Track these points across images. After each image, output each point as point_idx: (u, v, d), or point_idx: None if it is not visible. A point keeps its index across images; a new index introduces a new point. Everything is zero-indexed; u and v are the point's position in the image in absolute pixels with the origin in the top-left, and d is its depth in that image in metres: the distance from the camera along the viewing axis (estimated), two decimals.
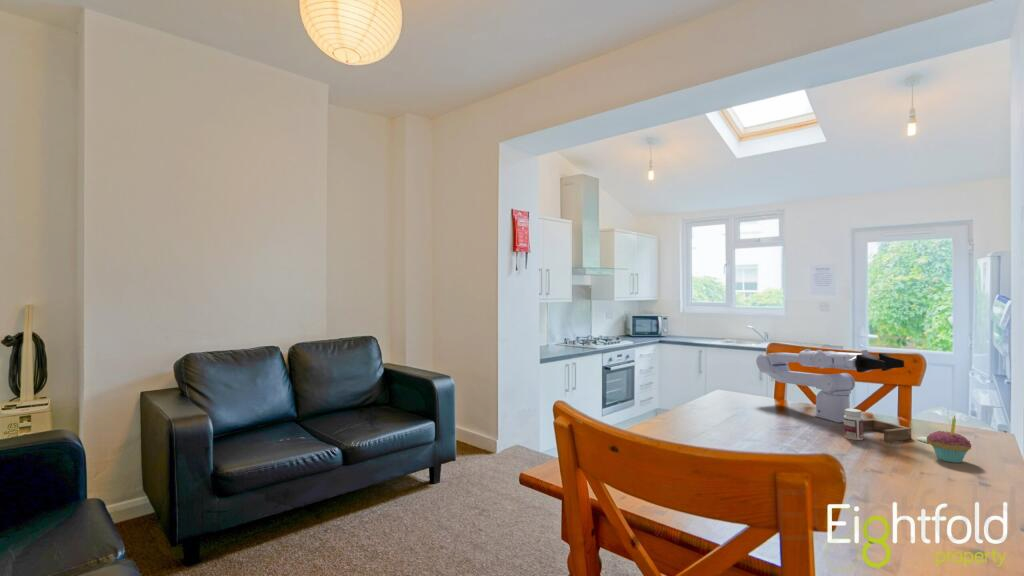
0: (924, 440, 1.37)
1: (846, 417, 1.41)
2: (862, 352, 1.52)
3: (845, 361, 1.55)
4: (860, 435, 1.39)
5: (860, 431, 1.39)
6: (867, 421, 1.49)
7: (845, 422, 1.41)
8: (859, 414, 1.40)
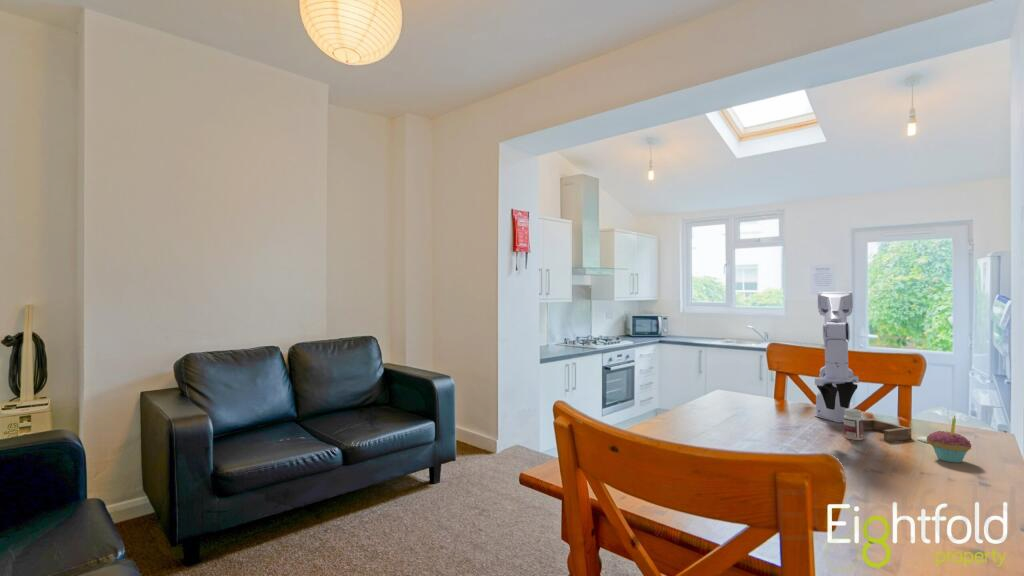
0: (924, 440, 1.37)
1: (846, 417, 1.41)
2: (844, 380, 1.37)
3: (829, 363, 1.39)
4: (860, 435, 1.39)
5: (860, 431, 1.39)
6: (867, 421, 1.49)
7: (845, 422, 1.41)
8: (859, 414, 1.40)
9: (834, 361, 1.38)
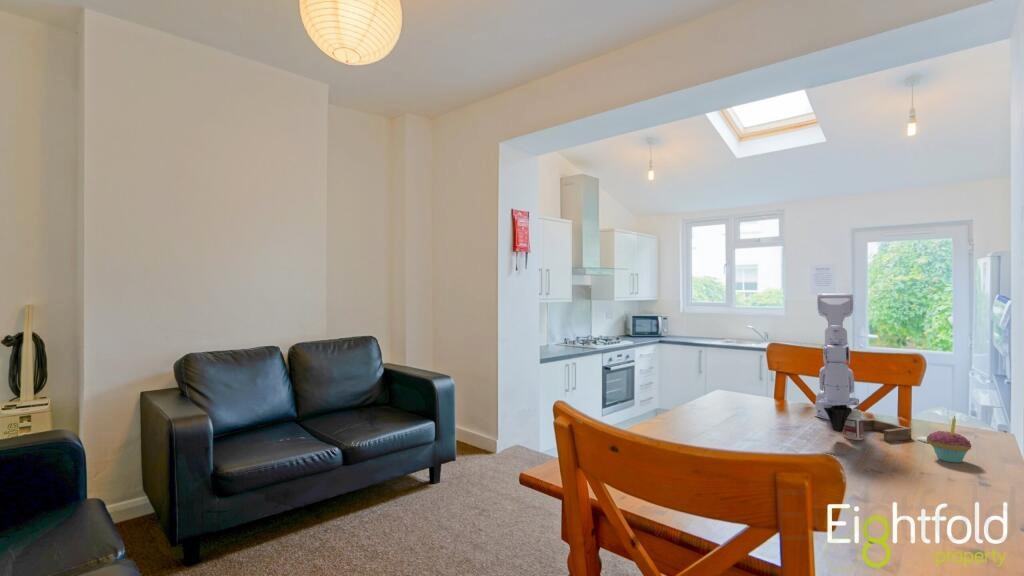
0: (924, 440, 1.37)
1: None
2: (844, 404, 1.37)
3: (829, 386, 1.39)
4: (860, 435, 1.39)
5: (860, 431, 1.39)
6: (867, 421, 1.49)
7: (845, 422, 1.41)
8: (859, 414, 1.40)
9: (834, 384, 1.38)
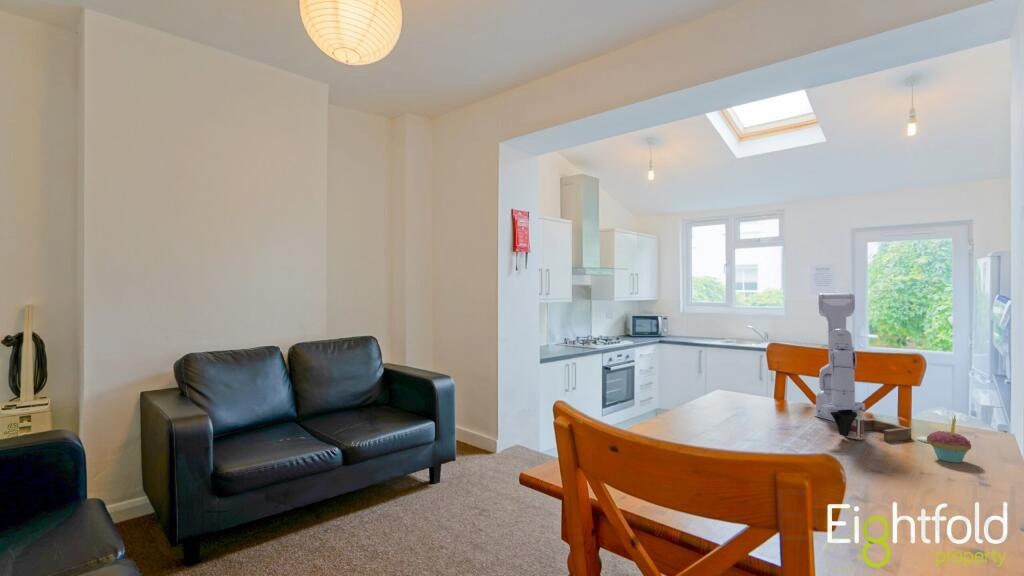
0: (924, 440, 1.37)
1: None
2: (850, 408, 1.37)
3: (835, 391, 1.40)
4: (860, 434, 1.39)
5: (861, 430, 1.39)
6: (867, 421, 1.49)
7: None
8: (861, 413, 1.40)
9: (841, 389, 1.38)
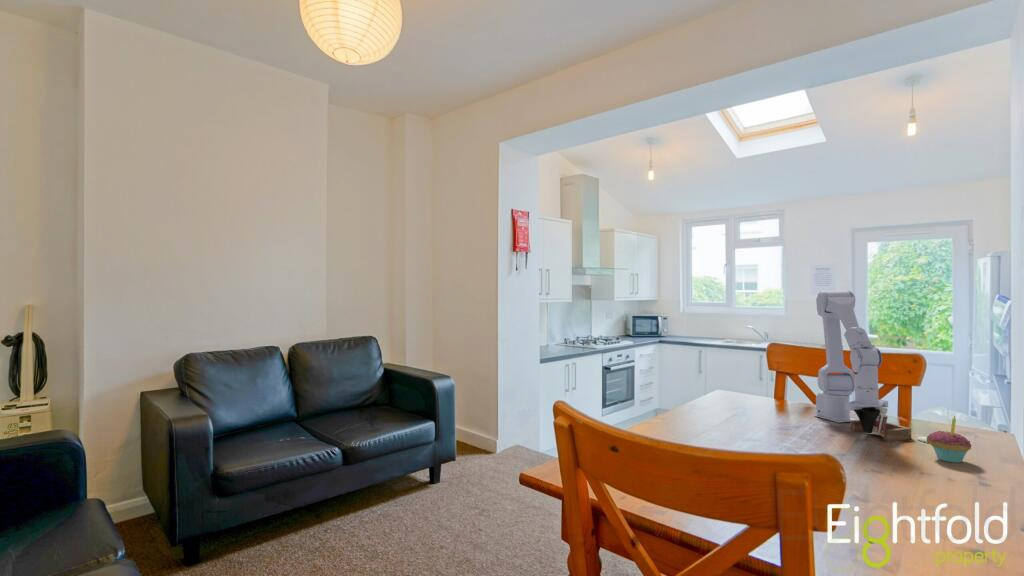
0: (924, 440, 1.37)
1: None
2: (874, 406, 1.39)
3: (859, 388, 1.42)
4: (881, 430, 1.41)
5: (883, 426, 1.41)
6: None
7: None
8: (885, 410, 1.42)
9: (869, 387, 1.40)
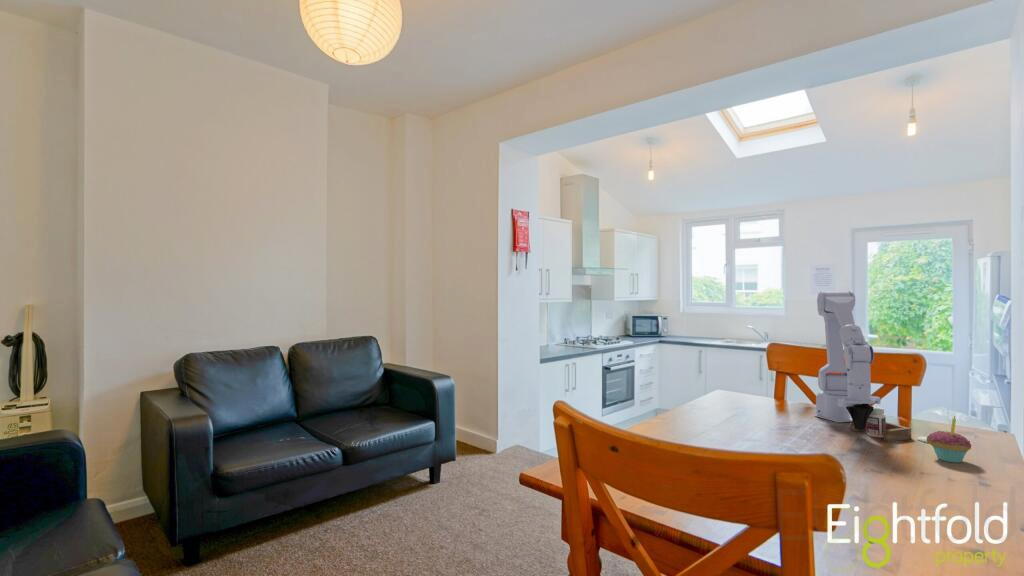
0: (924, 440, 1.37)
1: None
2: (867, 402, 1.39)
3: (851, 385, 1.41)
4: (882, 432, 1.41)
5: (883, 428, 1.41)
6: None
7: (867, 420, 1.44)
8: (882, 412, 1.42)
9: (860, 383, 1.40)
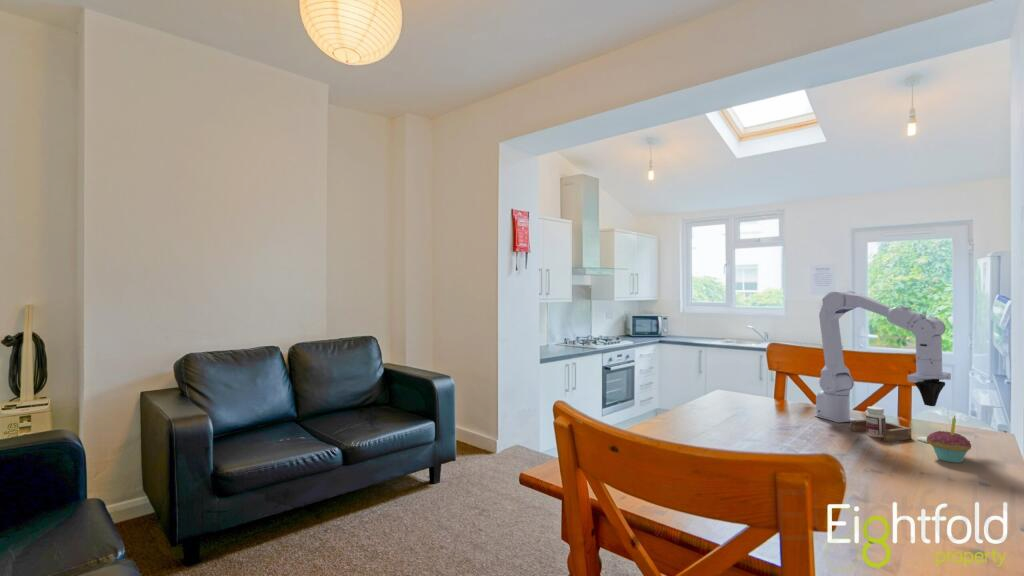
0: (924, 440, 1.37)
1: (868, 415, 1.43)
2: (939, 377, 1.34)
3: (922, 360, 1.37)
4: (882, 432, 1.41)
5: (883, 428, 1.41)
6: None
7: (867, 420, 1.44)
8: (881, 412, 1.42)
9: (939, 358, 1.35)
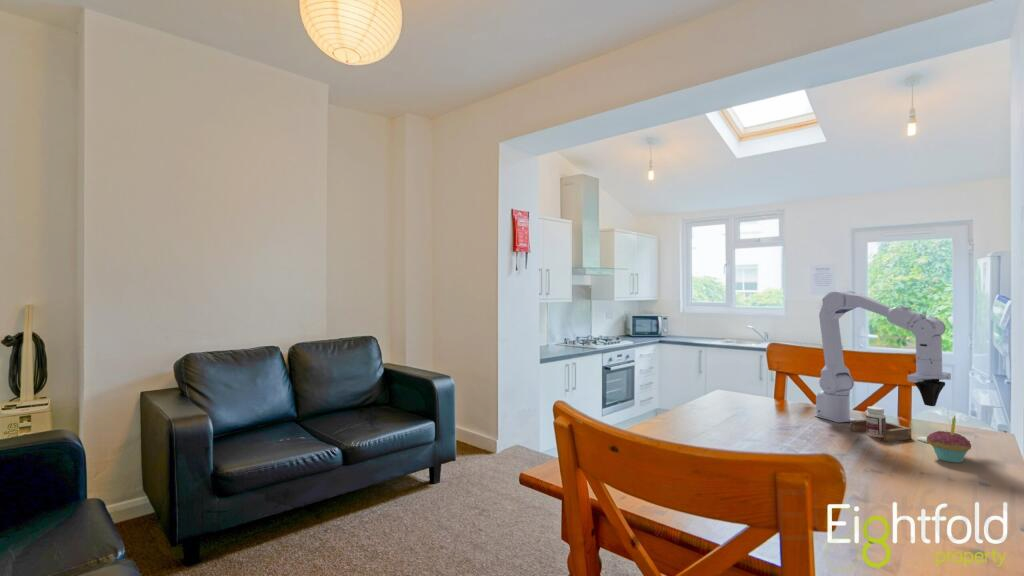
0: (924, 440, 1.37)
1: (868, 415, 1.43)
2: (939, 377, 1.34)
3: (922, 360, 1.37)
4: (882, 432, 1.41)
5: (883, 428, 1.41)
6: None
7: (867, 420, 1.44)
8: (882, 412, 1.42)
9: (939, 358, 1.35)
